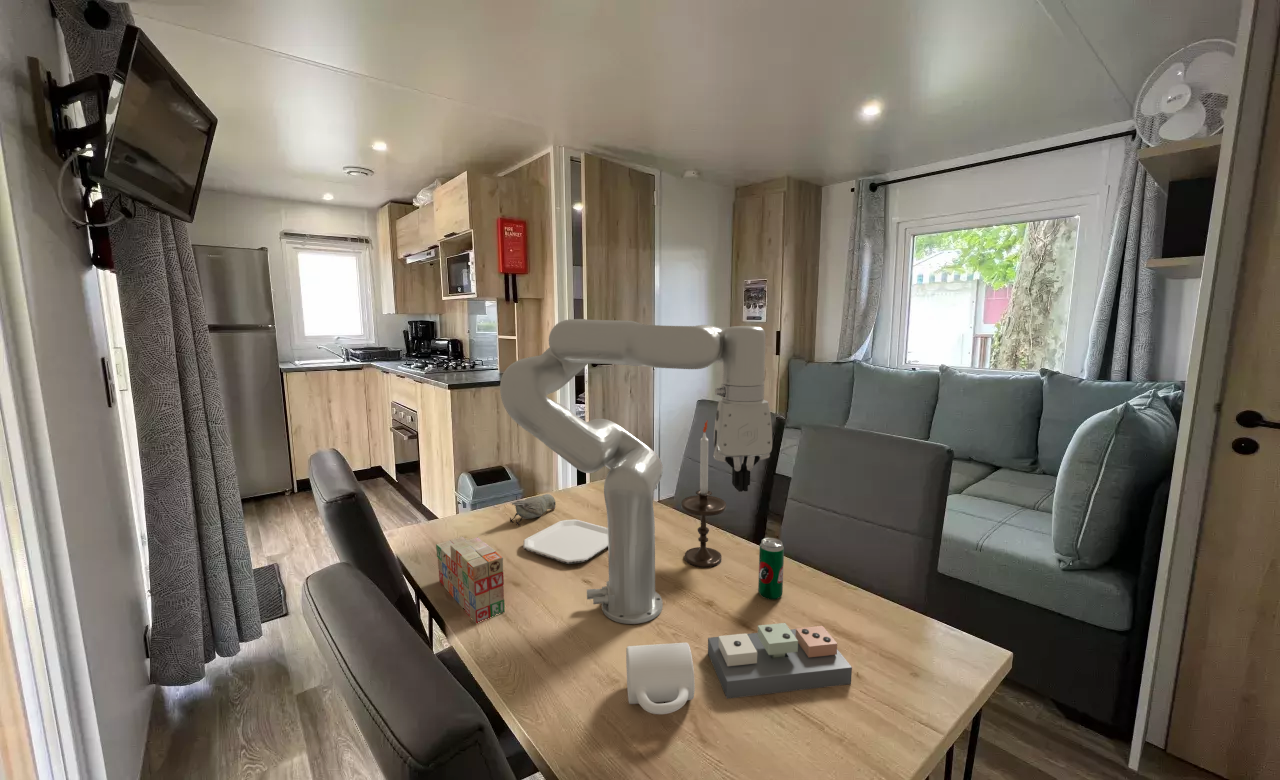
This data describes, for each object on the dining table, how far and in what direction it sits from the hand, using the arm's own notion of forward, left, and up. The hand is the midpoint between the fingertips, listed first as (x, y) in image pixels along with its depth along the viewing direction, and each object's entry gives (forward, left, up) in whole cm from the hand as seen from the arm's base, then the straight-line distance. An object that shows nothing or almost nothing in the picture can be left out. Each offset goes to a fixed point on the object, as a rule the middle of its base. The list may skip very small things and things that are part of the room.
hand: (740, 489), depth 96 cm
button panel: (+2, -14, -27) cm, 31 cm away
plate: (-32, +39, -28) cm, 58 cm away
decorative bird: (-43, +59, -28) cm, 78 cm away
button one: (-5, -14, -27) cm, 31 cm away
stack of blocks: (-54, +18, -28) cm, 63 cm away
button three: (+9, -14, -27) cm, 32 cm away
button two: (+2, -14, -26) cm, 29 cm away
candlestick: (0, +26, -27) cm, 38 cm away
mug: (-19, -19, -27) cm, 38 cm away
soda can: (+10, +8, -27) cm, 30 cm away
